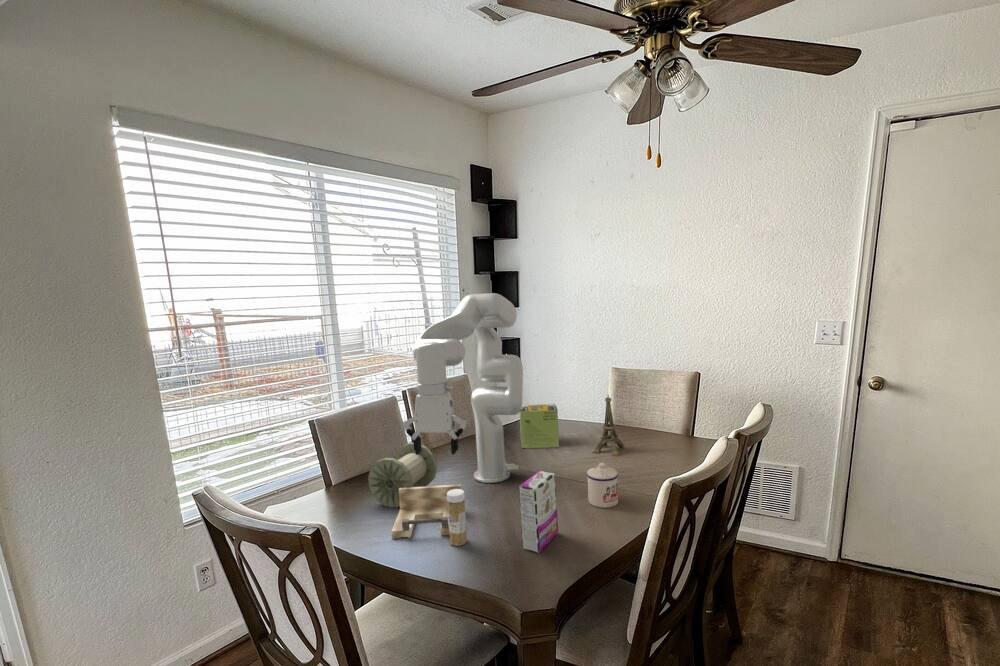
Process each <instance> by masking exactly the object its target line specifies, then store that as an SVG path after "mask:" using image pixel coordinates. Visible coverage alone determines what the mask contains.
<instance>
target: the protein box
mask: <svg viewBox="0 0 1000 666" xmlns="http://www.w3.org/2000/svg"><path fill="white" fill-rule="evenodd" d="M519 426H520V432H519V433H520V445H521V449H522V448H525V449H547V448H549V449H550V448H560V438H559V435H560V434H559V413H558V408H557V405H556V404H555V403H549V404H546V403H545V404H529V405H528V404H527V405H526V404H525V405H522V408H521V411H520V412H519Z"/></svg>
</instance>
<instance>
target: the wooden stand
mask: <svg viewBox="0 0 1000 666" xmlns="http://www.w3.org/2000/svg"><path fill="white" fill-rule="evenodd" d="M453 489H461V490H462V484H447V485H446V484H444V485H427V486H425V487H409V488H399V501H400V506H399V511H398V514H397V516H396V519H395V521H394V524H393V526H392V529H391V531H390V532H391V539H402V538H401V537H408V538H411V537H412V535H413V532H412V531H414V529H413V528H415V526H416V524H417V525H420V524H433V523H435V524H437V523H438V524H439V523H441V525H440V528H439V529H440V536H450V531H449V510H448V501H447V492H448V491H450V490H453Z"/></svg>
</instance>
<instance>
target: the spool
mask: <svg viewBox="0 0 1000 666" xmlns="http://www.w3.org/2000/svg"><path fill="white" fill-rule="evenodd" d="M421 447H422V451H421V452H420V453H419V454H418V455H416V451H414V443H413V442H410V443H406V444H404V445H402V446H401V448H400V449H398V450H397V452H396V456H395V458H393V457H385V458H382V459H380V460H377V461H376V462H375V463H374V464H373V465H372V467H370V469H369V470H370V471H369V473H368V477H367V479H368V487H369V489H370V492H371V494H372V496H373V497H374V499H376V501H377V502H378V503H380V504H381V505H383V506H385V507H386V506H389V507H388V508H393V507H396V508H398V507H399V508H400V501H399V488H409V487H425V486H430V484H431V483H432V482H433V481H434V480H435V478H436V475H437V473H438V472H437V471H438V465H437V460H436V457H435V455H434V453H433V452H432V451H431V449H429V447H427V446H426V445H425V444H422V443H421ZM396 508H395V509H396Z"/></svg>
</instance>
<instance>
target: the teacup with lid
mask: <svg viewBox="0 0 1000 666" xmlns="http://www.w3.org/2000/svg"><path fill="white" fill-rule="evenodd" d="M586 476H587V494H588V495H587V497H588V498H587V499H588V503H589V504H590V505H592V506H593V507H596V508H601V509H609V508H612V507H615V506H616V505H618V503H619V488H618V485H619V474H618V472H617V469H614V468H612V467H609V466H607V465H606V463H604V462H599V463H598V465H597V466H595V467H591V468H589V469H588V470H587V471H586Z"/></svg>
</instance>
